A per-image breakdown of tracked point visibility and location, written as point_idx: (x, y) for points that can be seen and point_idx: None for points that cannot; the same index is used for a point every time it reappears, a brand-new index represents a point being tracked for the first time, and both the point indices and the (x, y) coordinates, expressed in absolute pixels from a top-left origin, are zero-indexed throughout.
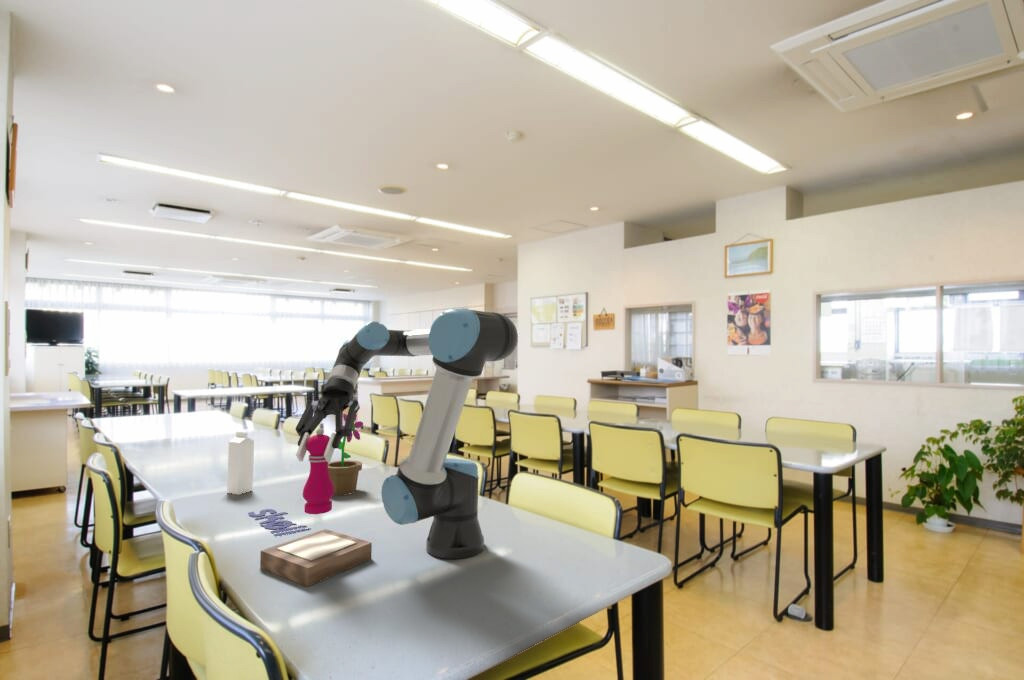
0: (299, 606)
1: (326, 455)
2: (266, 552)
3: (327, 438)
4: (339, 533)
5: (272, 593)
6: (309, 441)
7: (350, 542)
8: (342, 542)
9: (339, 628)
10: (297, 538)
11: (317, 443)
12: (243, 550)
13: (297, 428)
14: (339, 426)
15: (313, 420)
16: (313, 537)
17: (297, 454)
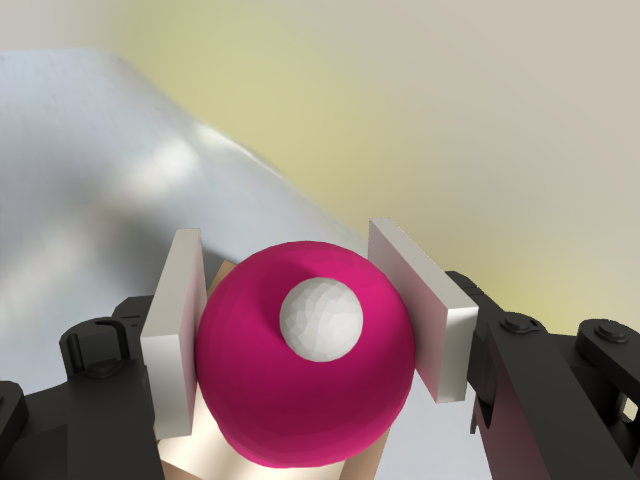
0: (201, 198)
1: (180, 231)
2: None
3: (220, 312)
4: None
5: (287, 239)
6: (359, 255)
7: (175, 450)
8: (203, 444)
9: (90, 139)
10: (376, 462)
11: (276, 245)
12: None
13: (605, 322)
14: (84, 420)
15: (558, 447)
16: (324, 472)
17: (381, 219)
